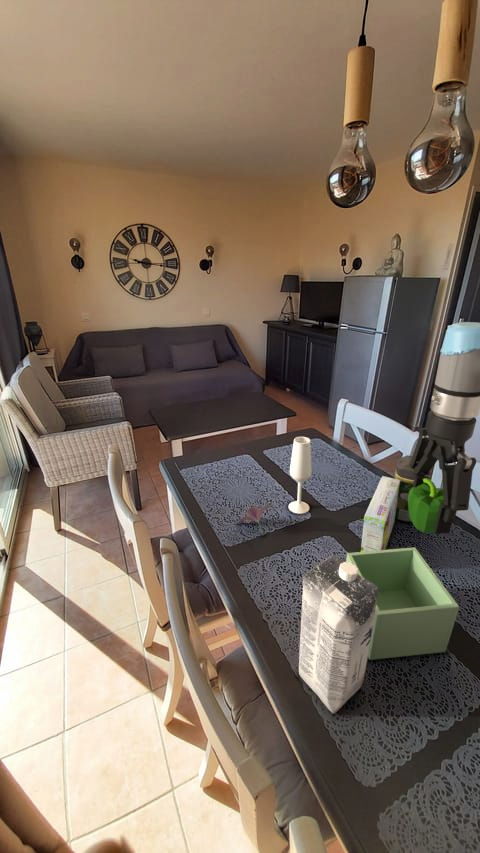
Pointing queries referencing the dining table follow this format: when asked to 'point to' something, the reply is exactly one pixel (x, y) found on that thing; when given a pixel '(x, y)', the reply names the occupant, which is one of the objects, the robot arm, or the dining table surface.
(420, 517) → the bell pepper
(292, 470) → the champagne flute
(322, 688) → the juice carton
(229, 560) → the dining table surface
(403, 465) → the coffee jar
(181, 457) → the dining table surface
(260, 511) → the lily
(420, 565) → the open storage box
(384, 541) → the snack box
